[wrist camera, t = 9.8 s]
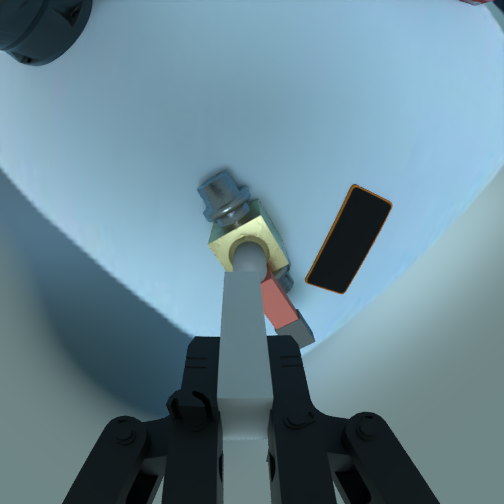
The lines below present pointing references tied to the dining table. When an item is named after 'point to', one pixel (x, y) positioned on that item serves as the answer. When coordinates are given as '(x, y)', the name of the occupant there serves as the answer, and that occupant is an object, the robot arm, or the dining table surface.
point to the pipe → (242, 226)
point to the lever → (272, 294)
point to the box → (476, 1)
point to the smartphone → (349, 240)
